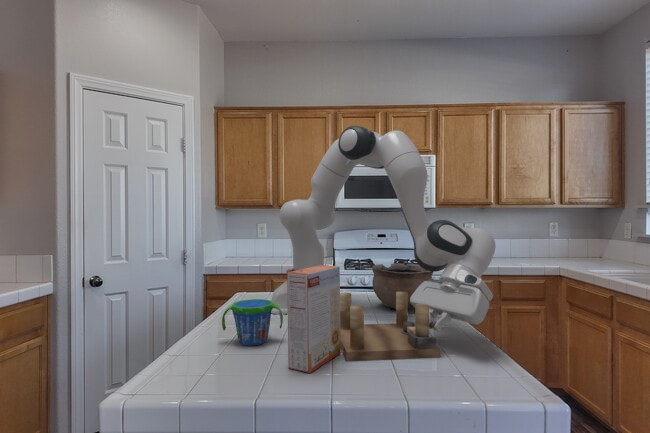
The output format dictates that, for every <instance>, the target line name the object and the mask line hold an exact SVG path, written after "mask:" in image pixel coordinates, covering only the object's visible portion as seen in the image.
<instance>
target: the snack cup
mask: <svg viewBox="0 0 650 433" xmlns="http://www.w3.org/2000/svg"><path fill="white" fill-rule="evenodd" d="M273 308H276V309H278V310H279V312H280V314H279V317H280V325H279V329H282V327H283V322H284V320H283V319H284V316H283V315H284V314H282V311H281V309H280V308H279V306H277V305H276V304H274V303H273V302H272V301H271V300H269V299H263V298H256V299H255V298H253V299H243V300H238V301H236V302H233V303H232V304H231V305H230V306H228V307H227V308H226V309H225V311H224V312H223V315H222V317H221V326H222V330H223V331H226V328H227V326H226V320H225V317H226V315H227V313H228V312H229V311H230V310H231V311H232V315H233V318H234V322H235V329H236V330H235V331H236V335H237V341H238V343H239V344H240V345H243V346H249V347H251V346H252V347H253V346H260V345H262V344H265V342H266V343H267V342H268V340H269V332H270V325H271V316H272V313H271V311H272V309H273Z"/></svg>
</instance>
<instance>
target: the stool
mask: <svg viewBox="0 0 650 433" xmlns="http://www.w3.org/2000/svg"><path fill="white" fill-rule="evenodd" d="M408 310H409V309H408V293H407V292H396V309H395V315H396V316H395V323H393V322H392V323H367V324H366V323H365V307H364V306H363V305H359V304H358V305H352V293H351V292H340V333H341V352H342V354H343V356H344V358H345V361H346V362H355V361H356V362H357V361H359V362H361V361H379V360H380V361H381V360H384V361H385V360H405V359H427V358H429V359H430V358H432V359H433V358H441V347H439V346H438V338H437V337H436V336H429V337H418V336H416V335H415V334H414V333H413V332H405V331H403V322H407V321H409V318H408V315H409V312H408Z"/></svg>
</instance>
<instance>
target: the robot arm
mask: <svg viewBox="0 0 650 433" xmlns="http://www.w3.org/2000/svg"><path fill="white" fill-rule="evenodd" d="M359 165H361V166H364V167H368V168H371V169H376V170H382V169H384V170H385V173H386V175H387V177H388V180H389V181H390V183H391V185H392V188H393V190H394V193H395V195H396V198H397V200H398V202H399V205H400V208H401V211H402V214H403V217H404V220H405V222H406V226H407V227H408V231H409V233H410V235H411V238H412V242H413V257H414V259H415V261H416V263H417V265H419V266H421V267H422V268H423V269H425V270H428V271H432V272H433V273H434V272H435V273H436V272H437V273H438V272H440V271H442V270H443V271H442V273H441V274H440V276H439V278H438V279H434V278H432V279H429V280H427V281H424V282H423V283H422V284H421V285H420V286H419V287H418V288H417V289H416V290H415V292H414V293H413V294H412V296H411V298H410V303H411V304H412V305H413V306H414V307H415V305H416V304H427V305H429V330H433V331H437V332H440V331H441V329H442V328H443V327H444V326H445V325H447V324H449V323H450V322H451V320H452V319H453V320H457V321H460V322H465V323H468V324H473V325H477V326H478V325H479V324H481V323H482V322H483V321H484V320H485V318H486V316H487V314H488V311H489V308H490V302H491V301H492V300H493V297H494V295H493V293H492V291H491V290H490V288H489V286H488V285H487V284H486V283H485V281H484V280H483V279H482V276H483V274H484V273H485V272H487V270H488V268H489V266H490V264H491V262H492V260H493V258H494V255H495V251H496V241H495V238H494V237H493V235H491V233H489V231H486V230H485V229H483V228H480V227H472V228H471V227H463V226H461V225H458V224H456V223H454V222H452V221H451V220H447V219H438V220H434V221H432V222H431V223H430V220H429V218H428V215H427V213H426V210H425V206H424V204H425V203H424V202H425V201H424V200H425V191H426V187H427V182H428V172H427V167H426V164H425V160H423V157H422V156H421V154H420V151H419V150H418V148H417V147H416V146H415V144H414V143H413V141H412V140H411V139H410V137H408V135H407V134H406V133H404V132H403V131H401V130H390V131H388V132H386V133H385V134H383V135H382V134H380V133H378V132H376V131H372V130H369V129H368V128H367V127H364V126H359V125H350V126H348V127H346V128H345V129H344V130H343V131H342V132H341V134H340V135H339V138H337V139H336V140H335V141H334V142H333V143H332V144H331V145H330V146H329V148H328V149H327V150H326V152H325V154H324V155H323V157H322V159H321V160H320V162H319V164H318V166H317V168H316V169H315V171H314V173H313V175H312V176H311V178H310V186H311V194H310V196H309V198H307V199H299V198H298V199H292V200H289V201H286V202H285V203H283V205H282V206H281V208H280V210H279V221H280V223H281V225H282V226H283V227H284V228H285V230H286V231H287V233H288V235H289V238H290V241H291V245H292V266H293V267H292V268H287V270H285V271H286V273H285V274H287V273H288V272H291V271H296V270H301V269H305V268H310V267H315V266H320V265H325V259H324V258H325V256H324V255H325V249H324V246H323V244H322V243H321V242H320V240H319V238H318V234H317V231H322V230H324V229H327V228H329V227H330V226H332V225H333V223H334V222H335V218H336V213H335V207H336V203H337V199H338V197H339V195H340V193H341V190H342V189H343V188H344V185H345V184H346V182H347V180H348V178H350V175H351V173H352V171H353V170H354V168H355V167H356V166H359ZM270 301H272V302H273V303H274V304H276V305H277V306H279V308H280V309H281V311H282V314H283V315H288V298H287V280H286V281H284V282H283V283H281V285H279V286H278V287H276V288H275V290H274V291H273V293H272V296H271V300H270ZM273 314H277V315H278V314H279V315H280V312H279V310H278V309H276V308H273V309H272V311H271V315H273ZM438 316H441V317H440V318H439V319H437V320H435V318H437V317H438Z"/></svg>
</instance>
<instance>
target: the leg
mask: <svg viewBox="0 0 650 433" xmlns="http://www.w3.org/2000/svg"><path fill="white" fill-rule="evenodd" d="M414 311H415V312H414V320H415V322H413V321H409V320H408V321H407V322H403V331H405V332H413V333H414V334H415V335H416V336H418V337H430V329H429V305H427V304H416V305H415V308H414Z"/></svg>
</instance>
